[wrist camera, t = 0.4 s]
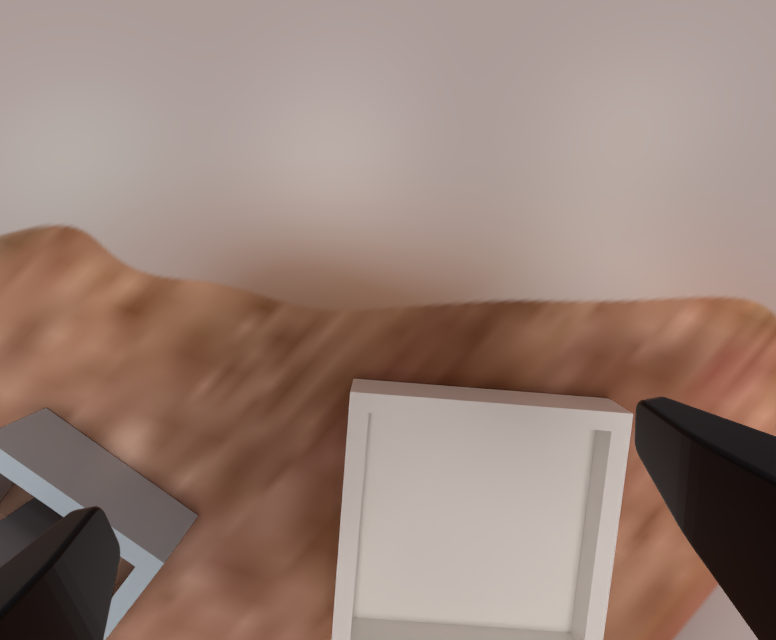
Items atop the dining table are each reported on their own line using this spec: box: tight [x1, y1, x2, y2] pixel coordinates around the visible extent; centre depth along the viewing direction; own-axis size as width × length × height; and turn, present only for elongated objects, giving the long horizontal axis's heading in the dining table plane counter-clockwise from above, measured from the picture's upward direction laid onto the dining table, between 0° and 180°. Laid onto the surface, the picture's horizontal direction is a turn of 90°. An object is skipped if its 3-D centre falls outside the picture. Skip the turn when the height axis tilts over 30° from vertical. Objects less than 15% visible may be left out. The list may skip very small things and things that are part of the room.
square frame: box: [0, 408, 198, 640], centre depth 24 cm, size 8×8×4 cm
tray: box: [332, 379, 633, 640], centre depth 24 cm, size 12×12×2 cm
